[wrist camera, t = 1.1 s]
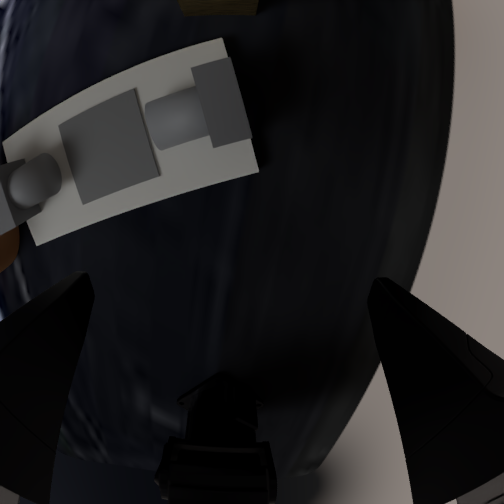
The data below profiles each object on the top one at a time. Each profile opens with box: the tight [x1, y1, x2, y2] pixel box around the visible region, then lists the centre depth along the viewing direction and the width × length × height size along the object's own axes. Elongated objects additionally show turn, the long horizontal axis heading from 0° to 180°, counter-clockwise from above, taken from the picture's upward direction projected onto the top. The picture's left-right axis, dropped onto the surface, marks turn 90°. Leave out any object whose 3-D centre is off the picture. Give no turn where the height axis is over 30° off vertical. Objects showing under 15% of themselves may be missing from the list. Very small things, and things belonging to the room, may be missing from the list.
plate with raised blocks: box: [0, 38, 259, 246], centre depth 16 cm, size 18×9×4 cm, turn 104°
